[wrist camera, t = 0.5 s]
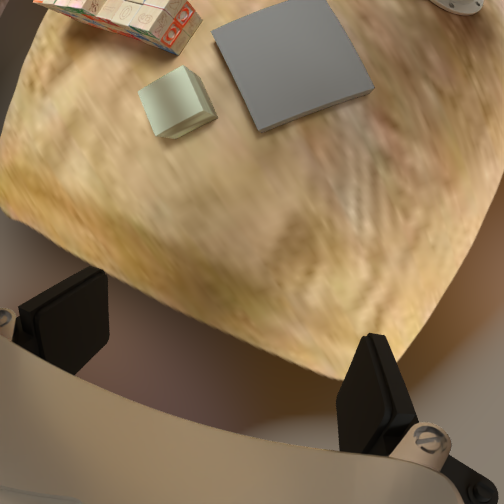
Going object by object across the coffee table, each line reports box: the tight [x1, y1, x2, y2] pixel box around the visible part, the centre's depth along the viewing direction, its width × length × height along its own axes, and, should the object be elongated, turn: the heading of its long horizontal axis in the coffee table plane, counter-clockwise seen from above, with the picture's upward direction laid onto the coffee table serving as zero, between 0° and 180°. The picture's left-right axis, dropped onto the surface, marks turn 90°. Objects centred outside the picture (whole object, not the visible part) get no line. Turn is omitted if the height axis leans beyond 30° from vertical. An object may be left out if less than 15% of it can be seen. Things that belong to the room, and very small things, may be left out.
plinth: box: [211, 0, 375, 133], centre depth 30 cm, size 14×14×3 cm
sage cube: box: [138, 65, 218, 139], centre depth 33 cm, size 6×6×6 cm
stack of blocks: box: [33, 0, 202, 55], centre depth 27 cm, size 21×6×12 cm, turn 59°
